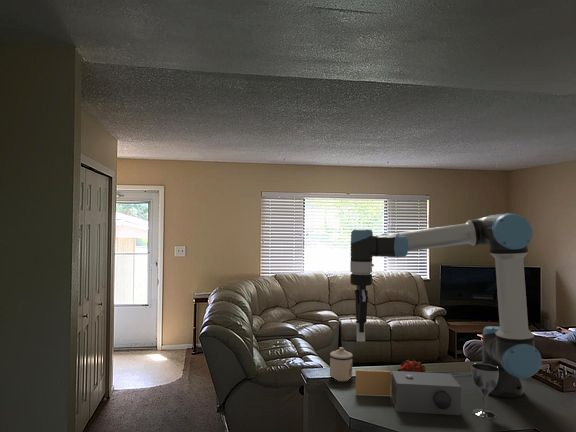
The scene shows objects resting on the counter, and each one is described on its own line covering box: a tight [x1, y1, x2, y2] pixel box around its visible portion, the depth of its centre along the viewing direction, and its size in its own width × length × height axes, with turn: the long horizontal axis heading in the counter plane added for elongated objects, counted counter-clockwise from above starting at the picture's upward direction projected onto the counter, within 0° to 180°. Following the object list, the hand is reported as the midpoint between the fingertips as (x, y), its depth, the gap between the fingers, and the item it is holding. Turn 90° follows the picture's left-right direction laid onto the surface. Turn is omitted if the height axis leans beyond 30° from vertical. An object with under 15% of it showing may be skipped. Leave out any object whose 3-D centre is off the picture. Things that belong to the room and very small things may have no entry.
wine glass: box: [471, 362, 499, 420], centre depth 140 cm, size 8×8×15 cm
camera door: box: [354, 369, 392, 396], centre depth 153 cm, size 12×1×8 cm, turn 87°
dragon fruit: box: [396, 359, 427, 373], centre depth 168 cm, size 8×8×12 cm
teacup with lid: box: [329, 346, 354, 382], centre depth 171 cm, size 12×9×12 cm
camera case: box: [390, 370, 462, 416], centre depth 144 cm, size 20×14×10 cm
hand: (360, 340), depth 152 cm, fingers closed
